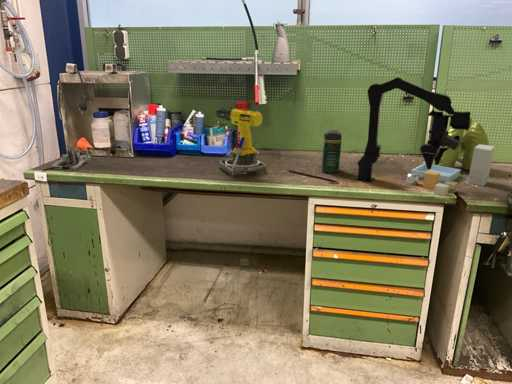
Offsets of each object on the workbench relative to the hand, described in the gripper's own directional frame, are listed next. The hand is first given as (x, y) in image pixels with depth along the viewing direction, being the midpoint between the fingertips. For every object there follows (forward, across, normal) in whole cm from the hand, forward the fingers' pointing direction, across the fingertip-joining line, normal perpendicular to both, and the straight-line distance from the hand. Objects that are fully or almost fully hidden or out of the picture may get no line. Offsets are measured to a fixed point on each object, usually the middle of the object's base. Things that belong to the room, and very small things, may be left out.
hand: (433, 167), depth 167 cm
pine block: (+8, 0, -8) cm, 11 cm away
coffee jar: (+9, -6, +43) cm, 44 cm away
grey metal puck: (+8, 0, +7) cm, 11 cm away
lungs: (+9, +39, +1) cm, 40 cm away
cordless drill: (+9, -32, +75) cm, 82 cm away
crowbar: (+9, -21, +44) cm, 50 cm away
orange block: (+8, 0, 0) cm, 9 cm away
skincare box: (+8, +20, -13) cm, 25 cm away
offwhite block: (+8, -6, -6) cm, 12 cm away
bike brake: (+9, -82, +136) cm, 159 cm away
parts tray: (+8, +18, +4) cm, 20 cm away
